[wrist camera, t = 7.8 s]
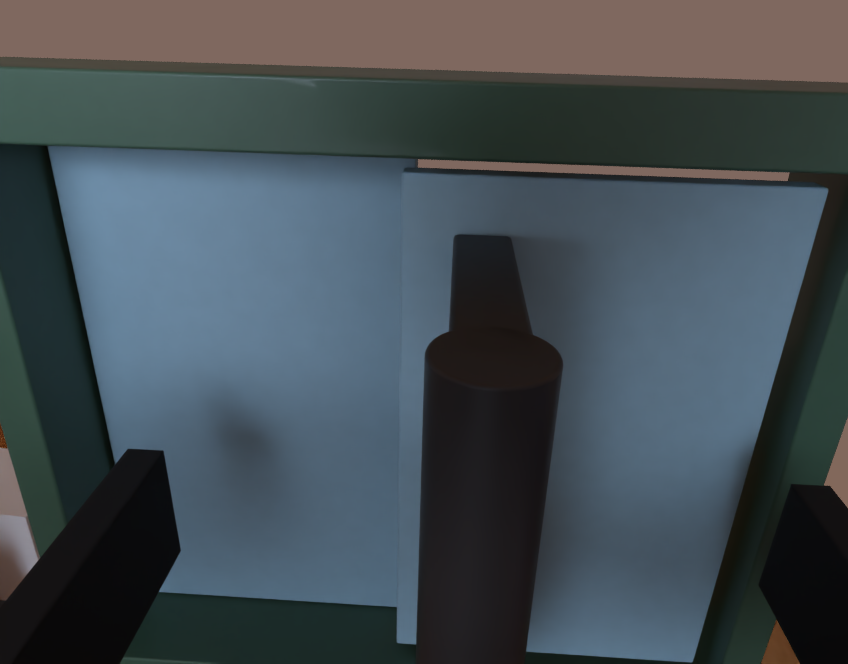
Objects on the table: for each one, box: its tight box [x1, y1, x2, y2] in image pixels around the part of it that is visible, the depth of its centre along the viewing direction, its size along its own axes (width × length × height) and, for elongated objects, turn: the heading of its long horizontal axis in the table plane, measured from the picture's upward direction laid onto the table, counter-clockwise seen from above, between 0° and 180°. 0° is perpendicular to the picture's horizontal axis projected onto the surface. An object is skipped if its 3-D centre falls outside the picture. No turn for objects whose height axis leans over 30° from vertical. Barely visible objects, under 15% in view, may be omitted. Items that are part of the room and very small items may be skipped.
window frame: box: [0, 57, 848, 664], centre depth 17 cm, size 19×3×17 cm, turn 87°
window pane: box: [397, 167, 828, 664], centre depth 13 cm, size 8×7×13 cm
